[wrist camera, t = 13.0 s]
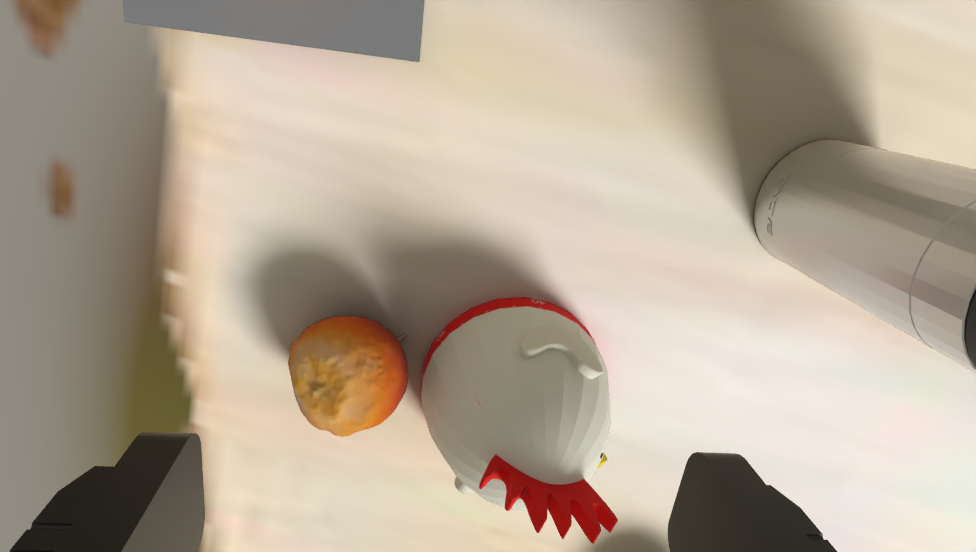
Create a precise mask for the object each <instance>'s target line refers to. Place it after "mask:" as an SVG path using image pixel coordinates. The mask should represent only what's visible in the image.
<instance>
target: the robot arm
mask: <svg viewBox="0 0 976 552" xmlns="http://www.w3.org/2000/svg"><path fill="white" fill-rule="evenodd" d="M754 222H755V228H756V232H757V236H758V238H759V240H760V242H761V244H762V246H763V247H764V248H765V249H766V250H767V251H768V252H769V253H770V254H771V255H773V256H774V257H776V258H777V259H779V260H781V261H782V262H784V263H786V264H788V265H789V266H791V267H793V268H794V269H796V270H798V271H800V272H801V273H803V274H805V275H806V276H808V277H809V278H811V279H813V280H815V281H816V282H818V283H820V284H822V285H823V286H825V287H827V288H828V289H830V290H832V291H834V292H835V293H837V294H839V295H841V296H842V297H844V298H846V299H848V300H849V301H851V302H853V303H854V304H856V305H858V306H860V307H861V308H863V309H865V310H867V311H868V312H870V313H872V314H873V315H875V316H877V317H879V318H880V319H882V320H884V321H886V322H887V323H889V324H891V325H893V326H894V327H896V328H898V329H899V330H901V331H903V332H905V333H906V334H908V335H910V336H912V337H913V338H915V339H917V340H919V341H920V342H922V343H924V344H925V345H927V346H929V347H931V348H933V349H935V350H936V351H938V352H940V353H942V354H943V355H945V356H947V357H949V358H950V359H952V360H954V361H955V362H957V363H959V364H961V365H962V366H964V367H966V368H968V369H969V370H971V371H973V372H975V373H976V169H971V168H967V167H962V166H957V165H953V164H948V163H943V162H939V161H934V160H929V159H925V158H920V157H915V156H910V155H906V154H901V153H896V152H892V151H887V150H883V149H879V148H874V147H869V146H864V145H860V144H855V143H850V142H845V141H839V140H832V139H830V140H819V141H815V142H812V143H809V144H806V145H803V146H802V147H800V148H798V149H796V150H794V151H792V152H791V153H790V154H788V155H787V156H786V157H785V158H783V159H782V160H781V161H780V162H779V163H778V164H777V165H776V166H775V167H774V168H773V170H772V171H771V172H770V173H769V175H768V176H767V178H766V180H765V181H764V183H763V184H762V187H761V189H760V192H759V194H758V197H757V201H756V206H755V211H754ZM204 520H205V506H204V488H203V471H202V453H201V442H200V438H199V436H198V435H197V434H196V433H168V432H167V433H166V432H142V433H140V434H139V435H138V436H137V437H136V438H135V440H134V441H133V442H132V444H131V445H130V446H129V447H128V449H127V450H126V452H125V453H124V454H123V456H122V457H121V459H120V460H119V461H118V463H117V464H116V465H115V467H104V466H102V467H101V466H95V467H93V468H92V469H90V470H89V471H87V472H86V473H84V474H83V475H81V476H80V477H78V478H77V479H76V480H74V481H73V482H71V483H70V484H68V485H67V486H66V487H64V488H62V489H61V490H60V491H58V492H57V493H56V494H55V496H54V497H53V498H52V499H51V501H50V502H49V503H48V504H47V505H46V507H45V508H44V509H43V510H42V512H41V513H40V514H39V515H38V517H37V518H36V519H35V520H34V521H33V523H32V527H31V529H30V530H26V531H25V532H24V534H23V535H22V536H21V537H20V539H19V540H18V541H17V542H16V543H15V545H14V546H13V547H12V548H11V550H10V552H198V550H199V546H200V543H201V539H202V534H203V528H204ZM822 536H823V534H822V533H821V532H820V531H819V530H818V528H817V527H816V526H815V525H814V524H813V522H812V521H811V520H810V519H809V518H808V516H807V515H806V514H805V513H804V512H803V510H802V509H801V508H800V507H798V506H797V505H796V504H795V503H793V502H792V501H791V500H789V499H788V498H787V497H785V496H784V495H783V494H781V493H780V492H779V491H777V490H776V489H775V488H773V487H772V486H771V485H766V484H765V483H764V482H763V480H762V479H761V478H760V477H759V475H758V474H757V473H756V472H755V471H754V469H753V468H752V467H751V466H750V464H749V463H748V462H747V461H746V460H745V458H744V457H742V456H741V455H739V454H730V453H701V452H696V453H693V454H692V455H691V456H690V457H689V459H688V461H687V464H686V467H685V470H684V473H683V477H682V480H681V483H680V486H679V490H678V493H677V496H676V500H675V503H674V506H673V509H672V513H671V516H670V519H669V524H668V542H669V548H670V552H837V551H836V550H835V549H834V547H833V546H832V545H831V544H830V543H829V541H828V540H824V539H823V537H822Z"/></svg>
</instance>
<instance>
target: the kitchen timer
mask: <svg viewBox="0 0 976 552" xmlns="http://www.w3.org/2000/svg"><path fill="white" fill-rule="evenodd" d="M421 401H422V406H423V410H424V414H425V418H426V421H427V425H428V429H429V432H430V434H431V436H432V438H433V440H434V442H435V444H436V445H437V447H438V449H439V450H440V452H441V454H442V455H443V457H444V458H445V460H446V461H447V463H448V464H449V466H450V467H451V469H452V470H453V472H454V473H455V475H456V476H457V477H456V479H455V486H456V488H457V489H458V490H459V491H460V492H461V493H464V494H478V495H479V496H481V497H482V498H484V499H485V500H487V501H489V502H491V503H494V504H496V505H499V506H502V507H504V508H505V509H506V510H507V511H509V510H514V511H525V512H528V513H529V516H530V518H531V521H532V523H533V526H534V528H535V530H536V532H537V533H539V532H540V530H541V528H542V527H543V525H544V523H545V521H546V519H547V509H548V510H549V512H550V514H551V516H552V518H553V520H554V522H555V525H556V527H557V529H558V532H559V534H560V536H561V537H562V539H564V537H565V535H566V533H567V532H568V530H569V528H570V526H571V514H572V515H573V517H574V518H575V519H576V521H577V522H578V524H579V525H580V527H581V528H582V530H583V532H584V533H585V535H586V536H587V538H588V539H589V540H590V542H591V543H593V544H594V542H595V540H596V539H597V537H598V535H599V534H600V532H601V527H600V524H601V525H602V526H603V527H604V528H605V529H607V530H608V531H609V532H610V533H611V531H612V529H613V528H614V526H615V524H616V523H617V521H618V520H617V518H616V516H615V515H614V513H613V512H612V511H611V509H610V508H609V507H608V506H607V504H606V503H605V502H604V501H603V500H602V499H601V497H600V496H599V495H598V494H597V493H596V492H595V491H594V489H593V488H592V487H591V486H590V485H589V484H588V482H589V480H590V479H591V477H592V475H593V474H594V472H595V470H596V469H597V468H598V467H600V466H601V465H602V464H603V463H605V462H606V461H607V458H606V456H605V454H604V451H605V448H606V443H607V439H608V434H609V429H610V423H611V409H610V394H609V385H608V376H607V370H606V366H605V363H604V361H603V359H602V356H601V354H600V352H599V350H598V348H597V346H596V344H595V342H594V340H593V338H592V337H591V335H590V333H589V332H588V330H587V329H586V328H585V327H584V326H583V325H582V324H581V323H580V322H579V321H578V320H577V319H576V318H575V317H574V316H573V315H572V314H571V313H569V312H567V311H565V310H563V309H561V308H560V307H558V306H556V305H554V304H552V303H550V302H546V301H541V300H536V299H531V298H526V297H520V298H506V299H496V300H493V301H490V302H487V303H485V304H482V305H479V306H476V307H473V308H471V309H469V310H468V311H466V312H465V313H463V314H462V315H460V316H459V317H457V318H456V319H454V320H453V321H451V322H450V323H449V324H448V325H447V326H446V327H445V329H444V330H443V331H442V332H441V333H440V334H439V336H438V337H437V338H436V339H435V340H434V342H433V343H432V345H431V347H430V350H429V352H428V355H427V357H426V359H425V362H424V364H423V371H422V384H421ZM599 523H600V524H599Z"/></svg>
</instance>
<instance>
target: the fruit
mask: <svg viewBox="0 0 976 552" xmlns="http://www.w3.org/2000/svg"><path fill="white" fill-rule="evenodd" d="M405 337H407V336H406V334H404V335H402V336H400V337H397V338H396V337H395V336H394V335H393V334H392V332H390V331H389V330H388V329H387V328H385V327H384V326H382V325H381V324H379V323H377V322H376V321H373V320H370V319H367V318H363V317H344V316H339V317H332V318H327V319H323V320H321V321H319V322H317V323H315V324H313V325H312V326H310V327H308V328H307V329H306V330H305V331H304V332H303V333H302V334H301V335H300V337H299V338H298V339H297V340H296V341H295V342H294V343H292V345H291V347H290V355H289V360H288V365H289V370H290V375H291V380H292V385H293V389H294V393H295V397H296V400H297V402H298V405H299V407H300V410H301V412H302V413H303V415H304V416H305V417H306V418H307V420H308V421H309V422H310V423H311V424H312V425H313V426H314V427H316V428H318V429H320V430H327V431H329V432H331V433H332V434H334V435H336V436H350V435H352V434H353V433H355V432H358V431H361V430H365V429H369V428H372V427H374V426H377V425H379V424H381V423H382V422H383V421H384V420H386V419H387V418H388V417H389V416H390V415H391V414H392V413H393V412H394V410H395V409H396V407H397V405H398V404H399V402H400V401H401V399H402V397H403V395H404V393H405V391H406V388H407V383H408V369H407V363H406V358H405V354H404V351H403V349H402V347H401V345H400V342H401V340H402V339H404V338H405Z"/></svg>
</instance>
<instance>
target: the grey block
mask: <svg viewBox="0 0 976 552" xmlns="http://www.w3.org/2000/svg"><path fill="white" fill-rule="evenodd" d="M123 9H124V20H125V22H127V23H135V24H142V25H149V26H157V27H164V28H171V29H179V30H186V31H194V32H201V33H208V34H216V35H223V36H231V37H238V38H245V39H253V40H260V41H267V42H275V43H282V44H290V45H297V46H304V47H312V48H319V49H327V50H334V51H341V52H349V53H356V54H364V55H371V56H378V57H386V58H393V59H401V60H408V61H415V62H419V60H420V47H421V35H422V23H423V11H424V0H123Z"/></svg>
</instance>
